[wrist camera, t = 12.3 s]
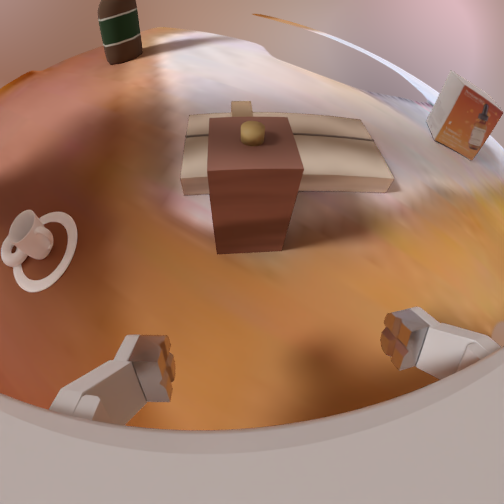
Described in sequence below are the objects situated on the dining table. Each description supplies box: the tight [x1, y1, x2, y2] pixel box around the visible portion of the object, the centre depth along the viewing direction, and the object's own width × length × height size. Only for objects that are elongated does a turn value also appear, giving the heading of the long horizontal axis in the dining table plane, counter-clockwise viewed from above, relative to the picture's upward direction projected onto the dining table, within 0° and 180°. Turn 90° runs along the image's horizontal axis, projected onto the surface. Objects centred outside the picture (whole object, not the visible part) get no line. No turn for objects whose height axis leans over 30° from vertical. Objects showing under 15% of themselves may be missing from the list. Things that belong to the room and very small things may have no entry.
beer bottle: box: [98, 0, 142, 65], centre depth 28 cm, size 8×8×24 cm
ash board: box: [180, 112, 394, 195], centre depth 23 cm, size 9×18×2 cm, turn 95°
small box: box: [426, 71, 503, 160], centre depth 25 cm, size 8×6×10 cm
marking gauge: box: [207, 101, 304, 254], centre depth 18 cm, size 12×4×9 cm, turn 5°
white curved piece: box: [1, 210, 77, 292], centre depth 17 cm, size 9×8×4 cm
